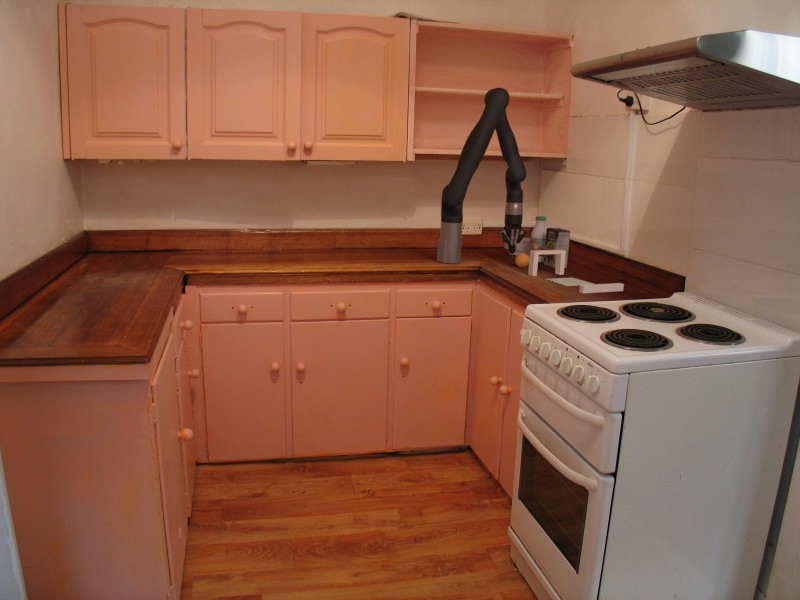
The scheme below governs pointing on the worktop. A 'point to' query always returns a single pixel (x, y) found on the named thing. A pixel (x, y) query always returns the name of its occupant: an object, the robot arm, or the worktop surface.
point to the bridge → (535, 253)
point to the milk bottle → (538, 237)
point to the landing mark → (570, 281)
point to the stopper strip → (601, 288)
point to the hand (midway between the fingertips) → (511, 253)
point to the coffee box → (556, 245)
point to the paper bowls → (520, 247)
